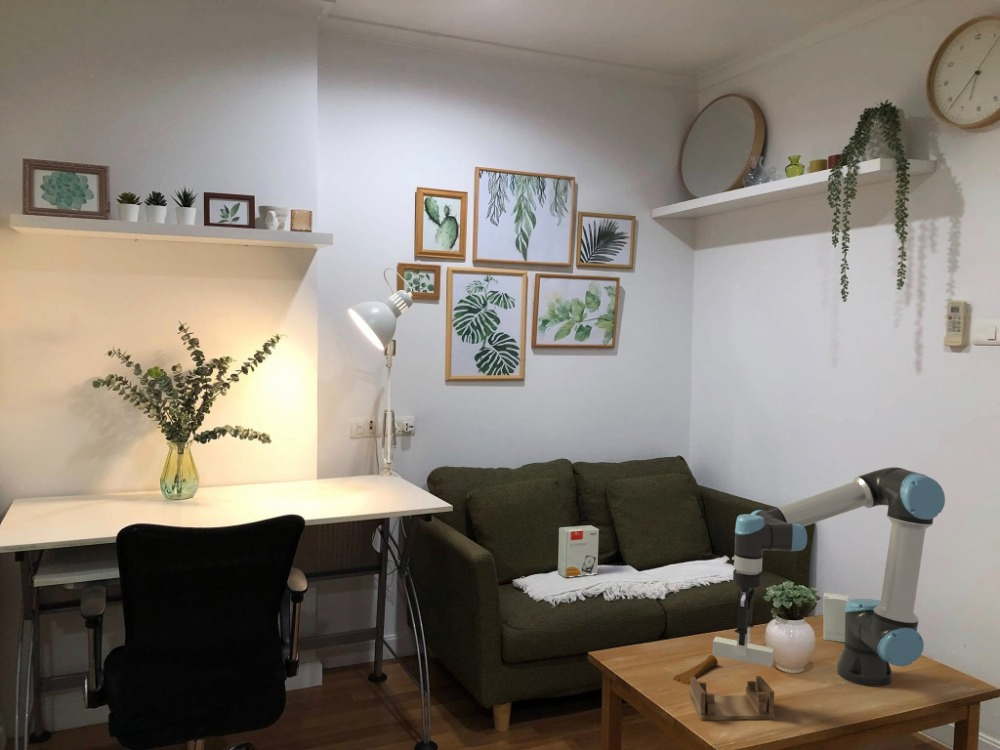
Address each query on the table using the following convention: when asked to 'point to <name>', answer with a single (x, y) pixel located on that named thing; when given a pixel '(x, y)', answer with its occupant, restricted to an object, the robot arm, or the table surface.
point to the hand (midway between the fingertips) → (742, 652)
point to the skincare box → (834, 616)
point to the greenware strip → (754, 651)
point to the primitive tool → (696, 670)
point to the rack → (733, 702)
